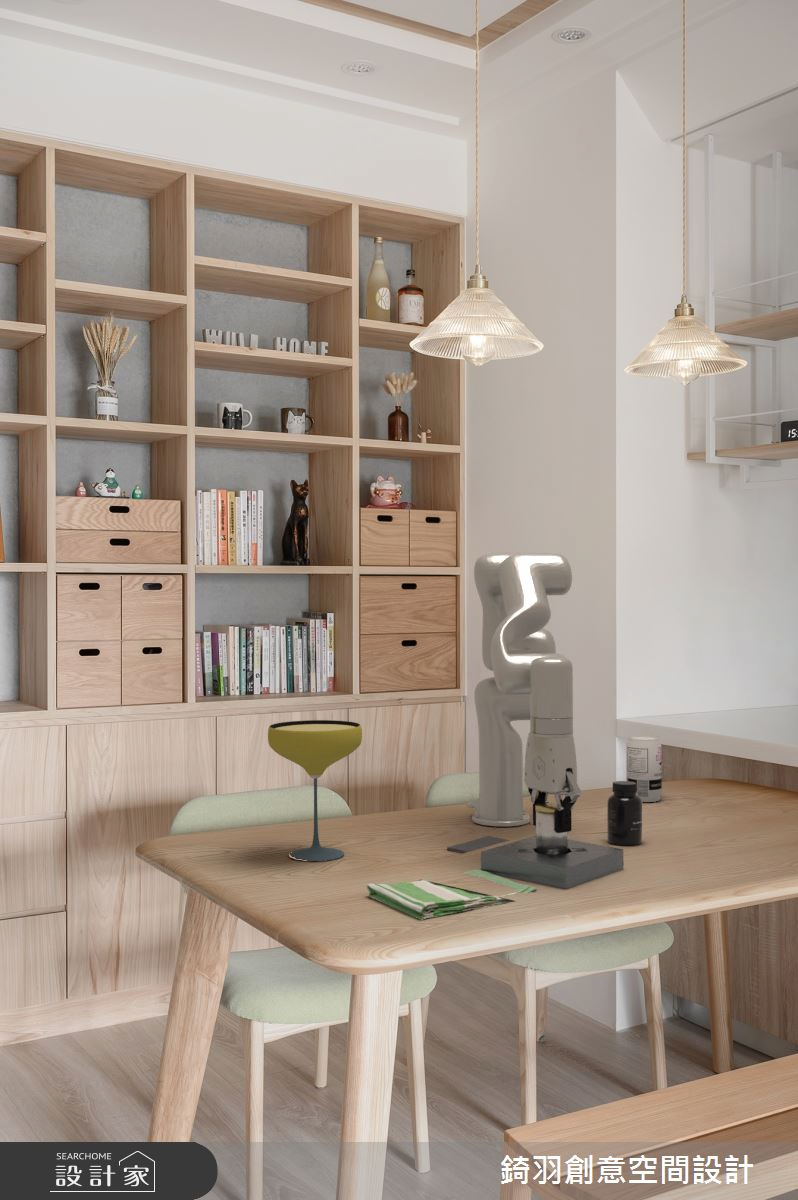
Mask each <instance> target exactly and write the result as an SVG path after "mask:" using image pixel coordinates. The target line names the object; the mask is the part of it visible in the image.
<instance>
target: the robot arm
mask: <svg viewBox="0 0 798 1200" xmlns="http://www.w3.org/2000/svg"><path fill="white" fill-rule="evenodd" d="M473 569H474V570H473V571H474V573H473V574H474V575H473V578H474V585H475V586H476V590H477V593H478V596H479V599H480V603H481V607H482V634H481V639H482V640H481V642H482V643H481V652H482V653H481V654H482V655H481V656H482V661H483V664H484V667H485V668H486V669H487V670H489V671H492V672H493V676H492V677H487V678H484V679H482V680H481V681H479V682H478V683H477V684H476V686H475V689H474V693H473V696H474V705H475V712H476V719H477V728H478V778H479V779H478V793H479V794H478V795H479V797H478V798H476V797H471V798H470V799H469V801H467V803H466V807H467V808H469V809H475V813H473V815H472V822H473V823H474V824H476V825H477V824H478V825H481V826H489V827H501V828H502V827H504V828H505V827H517V826H524V825H526V824H528V823H530V821H531V816H530V814H528V813H525V812H524V798H523V797H524V791H523V790H524V789H523V788H524V786H523V785H524V784H525V786H526V787H527V789H528V793H529V794H530V802H531V803H532V825H533V826H535V827H536V810H535V805H537V804H540V803H550V802H549V801H547V800H548V797H549V795H554V799H555V800H554V801H555V803H556V805H557V809H558V810H555V832H556V833H563V832H568V833H569V832H572V810H573V809H574V808H575V806H574V805H575V803H576V802H577V800H578V799H579V798H580V797H581V795H582V790H581V788H580V787H579V785H578V766H577V754H576V753H577V752H576V745H575V739H574V717H573V716H574V698H573V697H574V696H573V695H574V691H573V690H574V687H573V679H574V676H573V671H574V669H573V663H572V661H571V660H570V659H569V658H567V657H566V655H564V654H561V653H557V651H556V650H557V649H556V642H555V638H554V636H553V634H552V633H551V632H550V631H549V630H547V629H546V628H545V627H546V626H547V625H548V624H549V622H550V619H551V616H552V613H551V608H550V607H551V606H550V603H549V599H548V596H565V595H567V594H568V593H569V591H570V589H571V587H572V584H573V572H572V568H571V565H570V563H569V561H568V559H567V557H565V556H564V555H563V554H561V553H551V552H550V553H549V552H527V553H526V552H496V553H486V554H484V555H481V556H479V557H478V558H476V561H475V564H474V568H473ZM517 721H529V727H530V728H529V731H530V732H529V733H528V736H527V741H526V747H525V756H524V755H523V753H524V752H523V741H522V738H521V736H520V734H519V732H518V731H517V730H516V729H515V728H514V727H513V726H512V724H511V722H517ZM523 756H524V759H523ZM523 760H524V763H523ZM523 765H524V766H523ZM523 767H524V769H523ZM523 775H524V776H523ZM523 778H524V779H523ZM523 781H524V782H523ZM523 783H524V784H523ZM562 796H564V798H563V797H562ZM562 798H563V799H562Z"/></svg>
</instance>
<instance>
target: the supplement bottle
mask: <svg viewBox="0 0 798 1200" xmlns="http://www.w3.org/2000/svg"><path fill="white" fill-rule="evenodd" d="M611 791H612V793H613V794H612V795H610V796H609V797H608V799H607V808H606V809H607V817H606V818H607V824H606V825H607V828H606V830H607V832H606V833H607V836H606V837H607V841H608V843H610V844H612V845H615V846H626V847H627V846H630V847H631V846H637V845H640V844H641V843H642V841H643V803H642V801H641V799H640V798H639V797H638V796H637V795H636V793H637V783H635V782H629V781H627V780H620V781H619V780H618V781H617V780H616V781H613V782H612V789H611Z"/></svg>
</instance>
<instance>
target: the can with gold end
mask: <svg viewBox="0 0 798 1200" xmlns="http://www.w3.org/2000/svg"><path fill="white" fill-rule="evenodd" d="M535 810H536V826H535V836H536V853H541V854H546V855H564V854H567V853H568V840H569V832H563V833H556V832H555V810H558V809H557V805H556V802H549V803H540V804H537V805H535Z"/></svg>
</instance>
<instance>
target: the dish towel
mask: <svg viewBox="0 0 798 1200" xmlns="http://www.w3.org/2000/svg"><path fill="white" fill-rule="evenodd" d="M463 874H466V875H470V876H472V877H473V876H474V877H479V878H483V879H485V880H487V881H491V882H492V883H495V884H499V885H502V886H506V887H510V888H512V889H514V892H513V891H512V893H507V894H503V895H501V896H497V895H491V894H487V893H482V892H478V891H473V890H470V889H464V888H460V887H455V886H450V885H447V884H443V883H438V882H433V881H432V880H433V878H428V879H426V880H425V879H423V880H422V879H421V880H417V881H405V882H401V881H400V882H395V883H394V882H393V883H368V884H366V889H367V890H368V893H369V894H368V897H369V898H371V899H373V900H375V899H376V900H375V901H377V900H378V901H377V902H380V903H382V902H383V903H382V904H384V903H385V904H384V905H386V904H387V905H386V906H388V905H389V907H390V908H393V909H395V908H396V909H395V910H397V909H398V911H399V910H400V912H402V911H403V912H402V913H404V912H405V913H404V914H406V913H407V914H406V915H408V914H410V915H409V916H411V915H412V916H411V917H413V916H414V918H415V917H417V918H418V919H417V918H416V919H417V920H419V919H421V920H420V921H423V920H422V919H425V920H427V919H426V918H429V919H432V918H431V917H435V918H437V917H436V916H440V917H443V916H442V915H445V916H448V915H447V914H450V915H454V914H458V913H457V912H459V913H462V911H463V912H466V911H467V912H468V911H472V910H471V909H474V910H478V909H477V908H481V907H484V906H490V907H493V906H492V905H495V906H498V904H500V905H503V904H509V903H516V902H517V900H513V899H509V898H506V896H512V895H515V894H522V893H523V894H533V892H535V891H538V890H537V888H536V886H532V885H528V884H523V883H522V884H521V883H518V882H515V881H513V880H511V879H507V878H506V877H504V876H500V875H495V874H491V873H489V872H486V871H482V870H481V869H471V870H467V871H463ZM504 897H505V898H504ZM481 909H482V908H481ZM453 913H454V914H453Z"/></svg>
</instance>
